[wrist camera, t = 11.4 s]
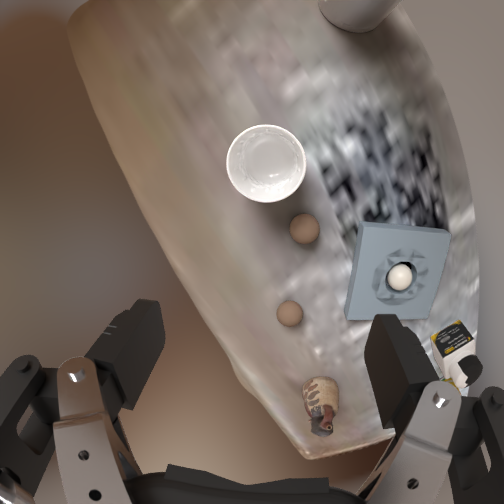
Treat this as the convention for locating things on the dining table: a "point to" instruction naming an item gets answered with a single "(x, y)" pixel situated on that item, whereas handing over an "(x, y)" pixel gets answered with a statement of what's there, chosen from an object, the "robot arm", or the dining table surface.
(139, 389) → the robot arm
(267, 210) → the dining table surface
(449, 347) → the medicine bottle
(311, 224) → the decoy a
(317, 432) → the figurine
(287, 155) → the white cup
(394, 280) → the ball
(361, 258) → the blue-grey square plate
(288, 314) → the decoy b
